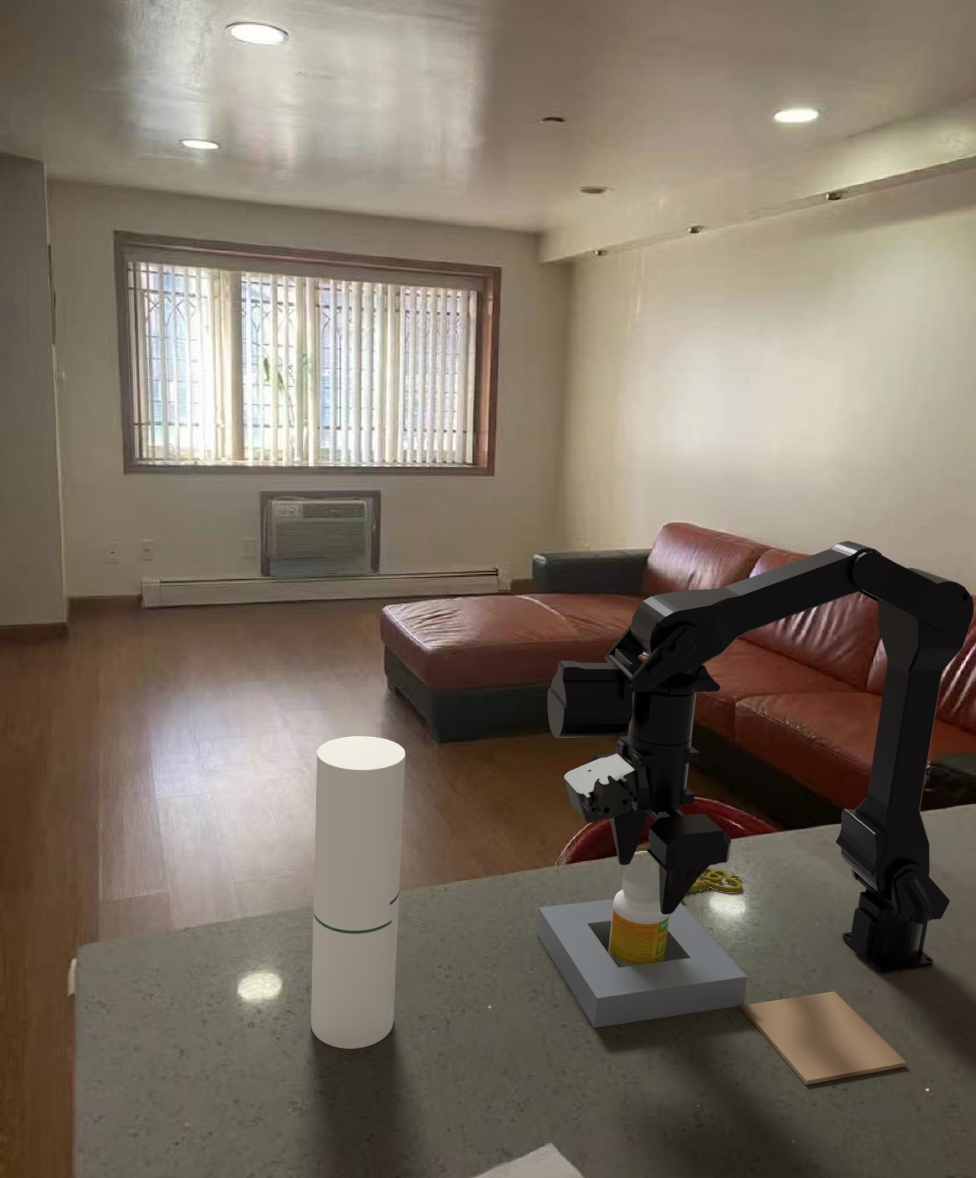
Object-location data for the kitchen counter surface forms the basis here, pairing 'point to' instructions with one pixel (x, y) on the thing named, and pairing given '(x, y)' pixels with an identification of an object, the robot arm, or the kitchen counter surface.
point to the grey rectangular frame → (638, 967)
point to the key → (716, 881)
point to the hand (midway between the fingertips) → (644, 887)
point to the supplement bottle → (638, 920)
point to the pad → (822, 1037)
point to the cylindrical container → (356, 889)
